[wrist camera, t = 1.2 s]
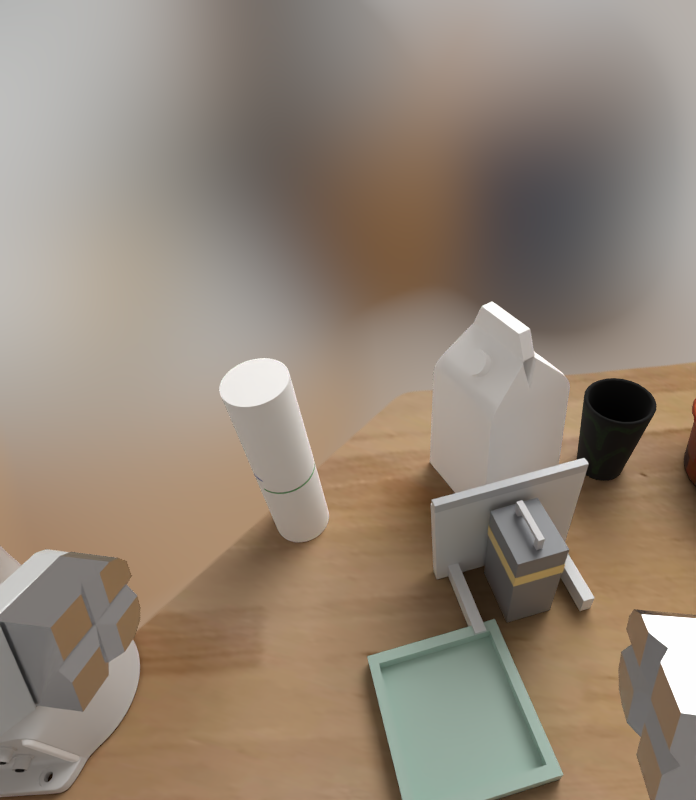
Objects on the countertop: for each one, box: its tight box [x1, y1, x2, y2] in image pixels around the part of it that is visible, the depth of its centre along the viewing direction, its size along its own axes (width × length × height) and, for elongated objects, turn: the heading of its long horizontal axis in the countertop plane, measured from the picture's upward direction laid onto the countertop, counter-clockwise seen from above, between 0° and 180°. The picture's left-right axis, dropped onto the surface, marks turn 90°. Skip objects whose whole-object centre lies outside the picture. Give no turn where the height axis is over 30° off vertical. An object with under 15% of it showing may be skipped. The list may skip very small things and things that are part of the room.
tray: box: [367, 619, 563, 800], centre depth 50 cm, size 14×14×2 cm
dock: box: [431, 458, 594, 635], centre depth 54 cm, size 16×9×15 cm, turn 103°
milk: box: [430, 302, 570, 493], centre depth 62 cm, size 12×12×26 cm
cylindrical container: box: [219, 358, 329, 542], centre depth 61 cm, size 7×7×25 cm
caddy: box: [484, 498, 569, 622], centre depth 54 cm, size 5×6×15 cm
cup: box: [577, 378, 656, 480], centre depth 65 cm, size 8×8×12 cm
